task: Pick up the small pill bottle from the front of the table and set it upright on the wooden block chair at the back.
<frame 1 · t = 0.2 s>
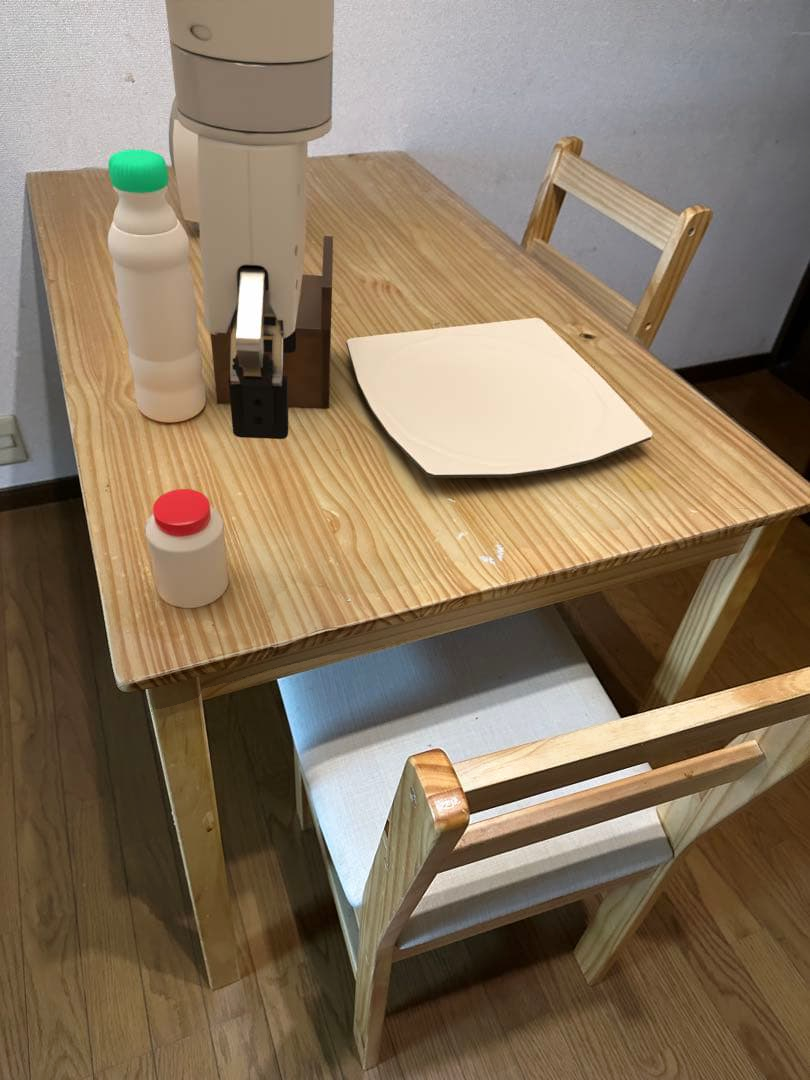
hand: (267, 389, 49), 20 cm above the table, tool pointing down, fingers open, 9 cm apart
alarm clock: (228, 221, 117), on the table
plate: (488, 406, 87), on the table
pill bottle: (193, 583, 64), on the table
water bottle: (172, 407, 81), on the table
wooden block chair: (276, 376, 87), on the table
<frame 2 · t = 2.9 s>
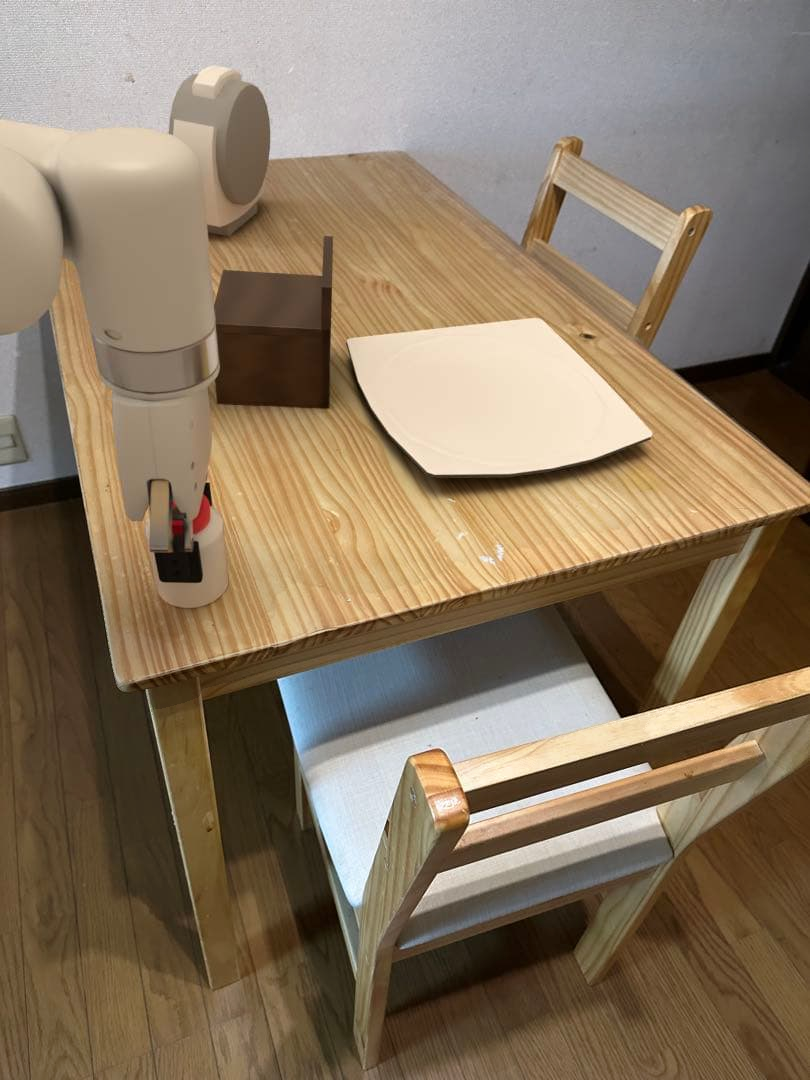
hand: (187, 547, 61), 4 cm above the table, tool pointing down, fingers closed on pill bottle, 5 cm apart
pill bottle: (193, 583, 64), on the table, touching gripper
everything else where it was.
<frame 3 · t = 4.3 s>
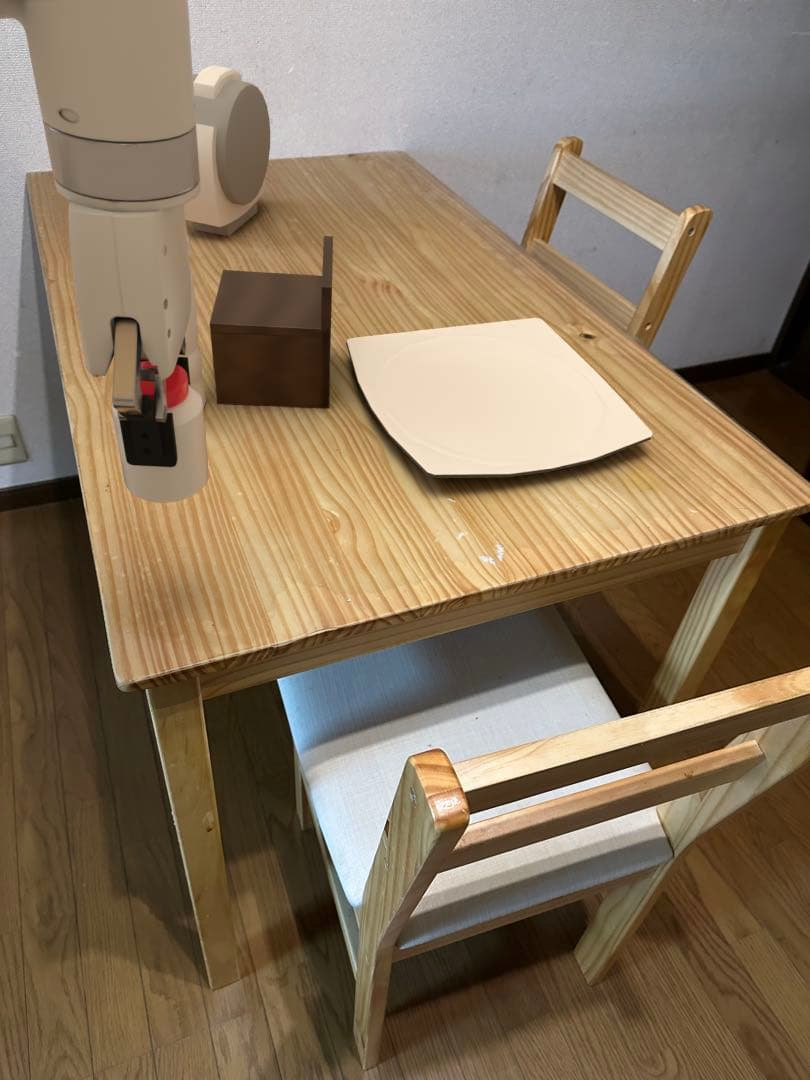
hand: (161, 431, 53), 15 cm above the table, tool pointing down, fingers closed on pill bottle, 5 cm apart
pill bottle: (167, 478, 56), point 11 cm above the table, touching gripper
everything else where it was.
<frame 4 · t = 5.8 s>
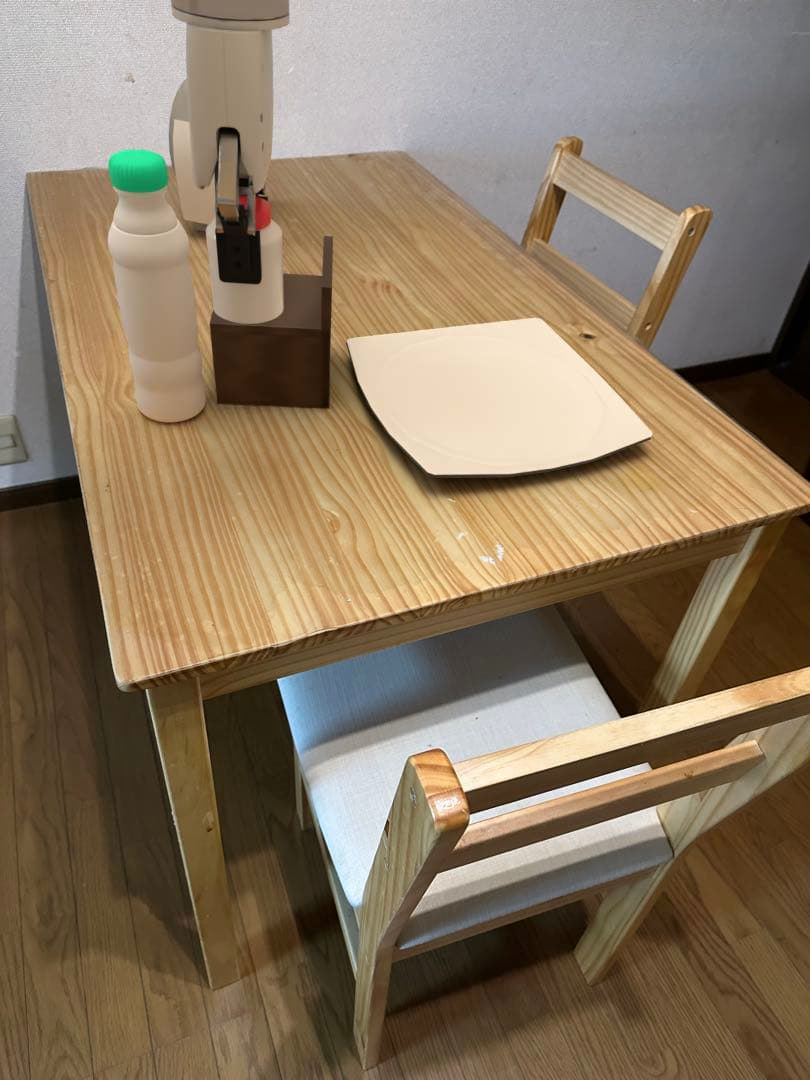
hand: (245, 260, 61), 21 cm above the table, tool pointing down, fingers closed on pill bottle, 5 cm apart
pill bottle: (248, 308, 64), point 16 cm above the table, touching gripper
everything else where it was.
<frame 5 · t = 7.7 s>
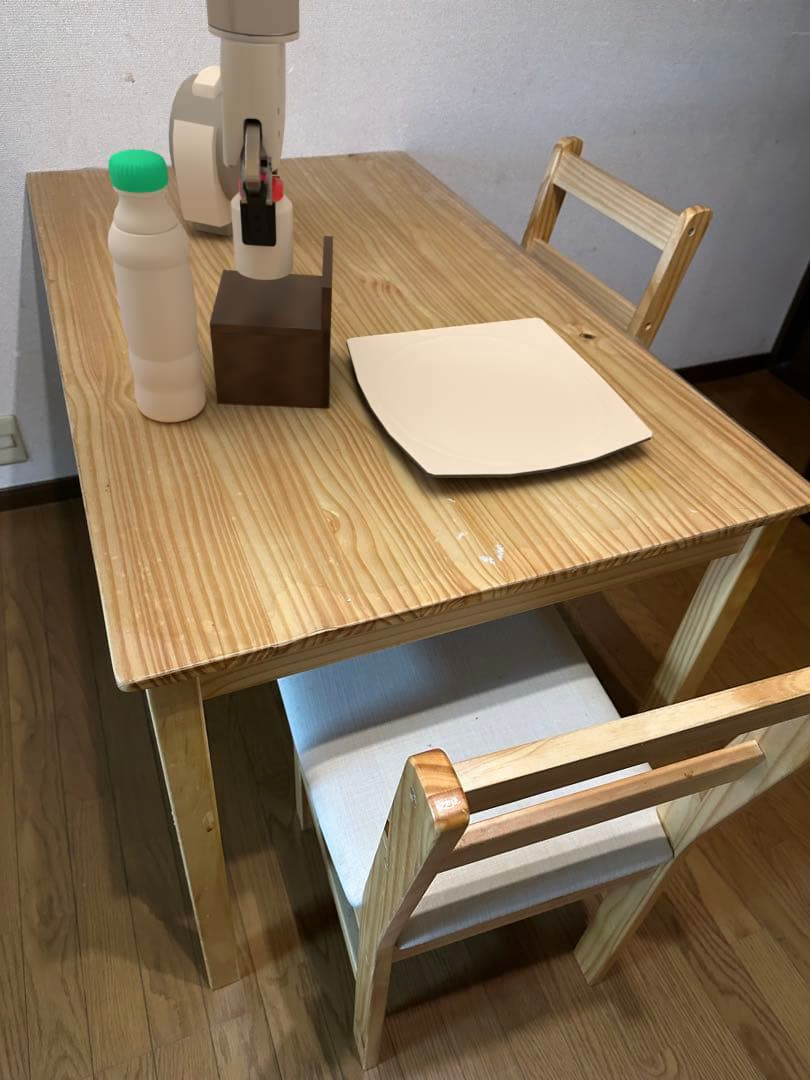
hand: (262, 228, 75), 17 cm above the table, tool pointing down, fingers closed on pill bottle, 5 cm apart
pill bottle: (264, 269, 78), point 13 cm above the table, touching gripper
everything else where it was.
when the fingers open (13 cm above the table, at t = 9.1 s): pill bottle stays where it is, resting on wooden block chair.
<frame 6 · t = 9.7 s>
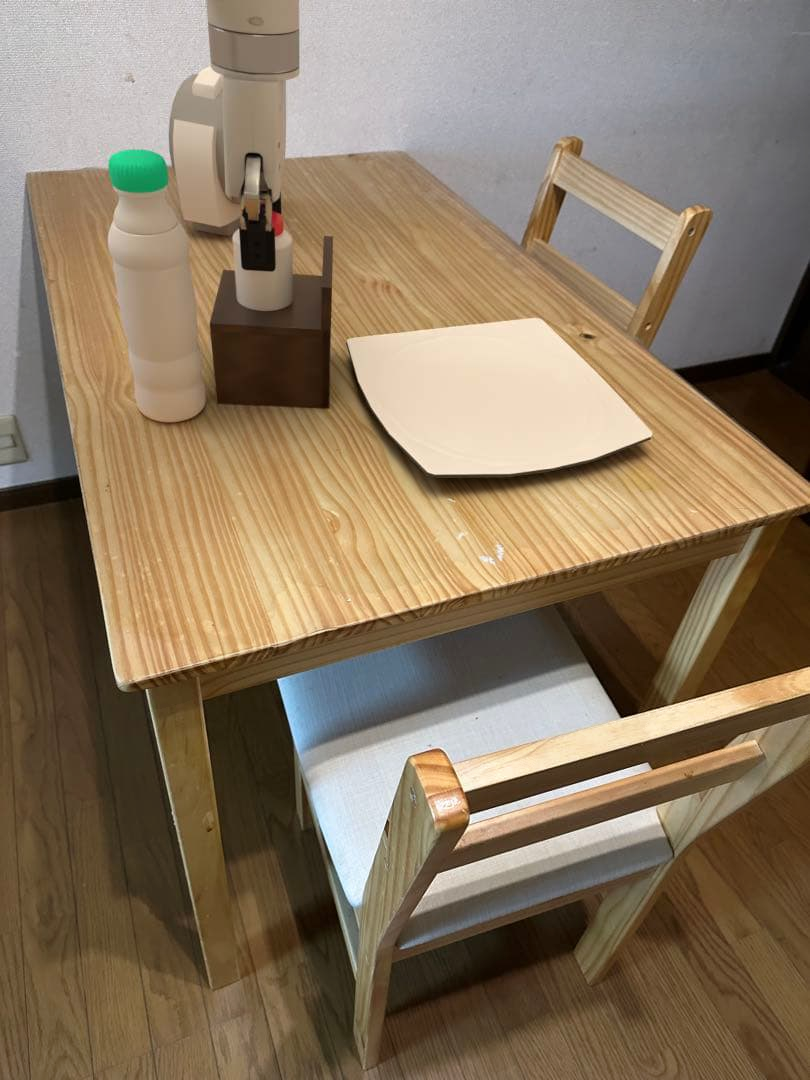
hand: (262, 248, 77), 15 cm above the table, tool pointing down, fingers open, 9 cm apart
pill bottle: (265, 299, 81), point 9 cm above the table, touching wooden block chair
everything else where it was.
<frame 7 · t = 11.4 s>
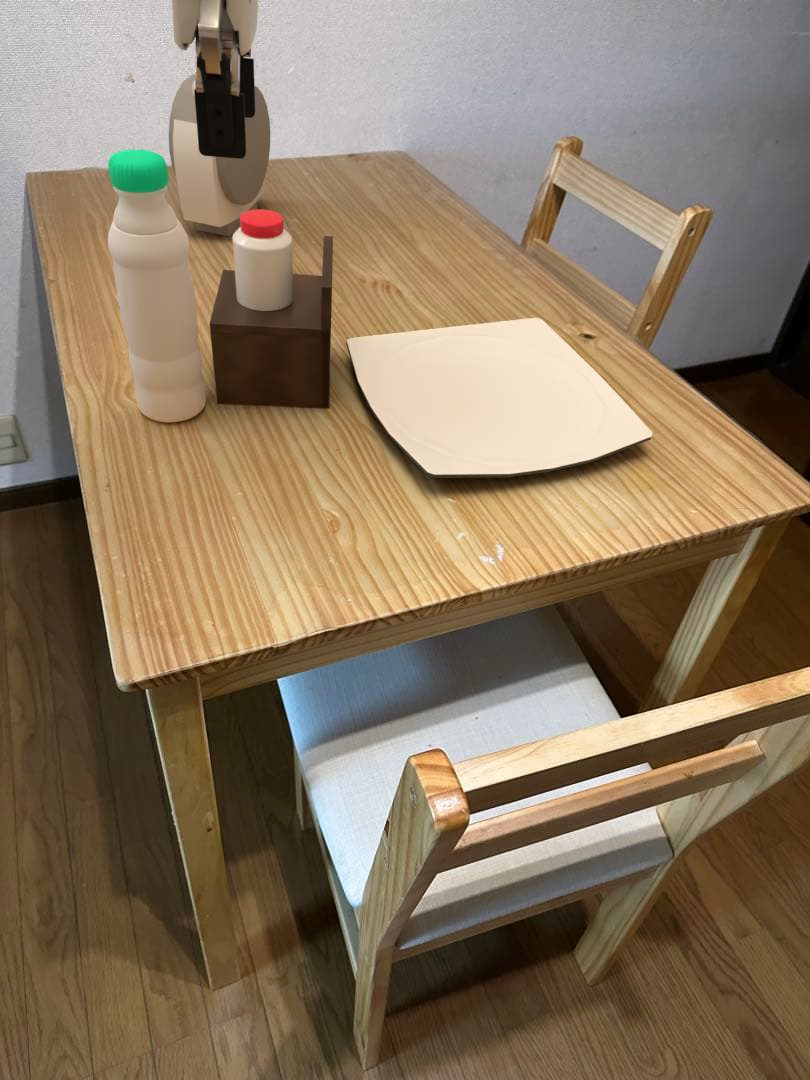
hand: (229, 134, 57), 29 cm above the table, tool pointing down, fingers open, 9 cm apart
nothing on the table moved.
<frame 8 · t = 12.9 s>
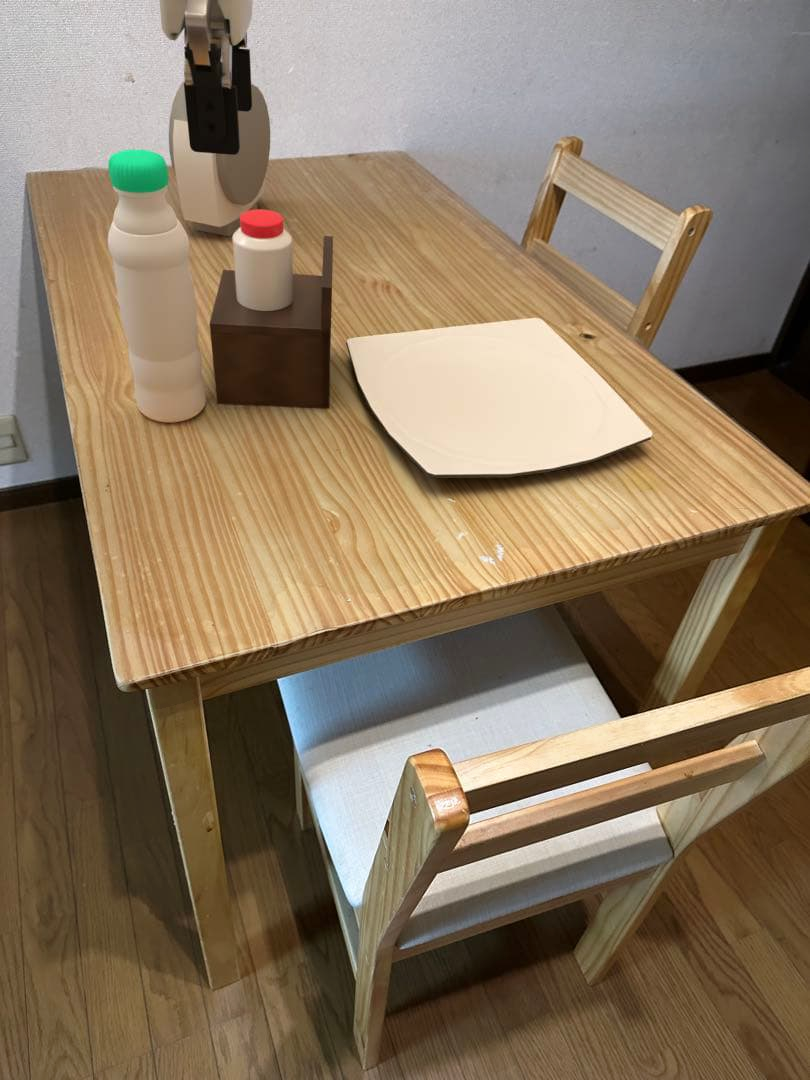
hand: (223, 129, 55), 30 cm above the table, tool pointing down, fingers open, 9 cm apart
nothing on the table moved.
at the end: pill bottle inside the target area on the wooden block chair (0.8 cm from its centre), point 9.3 cm above the wooden block chair's base; pill bottle tilted 0°; the gripper is holding nothing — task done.
